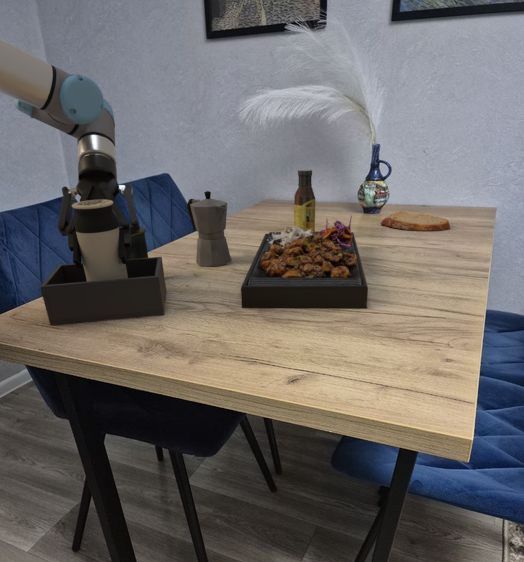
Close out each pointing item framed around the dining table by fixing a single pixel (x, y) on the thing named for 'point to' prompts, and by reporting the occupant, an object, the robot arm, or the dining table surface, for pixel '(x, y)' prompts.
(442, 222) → the bread slice
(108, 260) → the travel mug
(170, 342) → the dining table surface
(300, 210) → the sauce bottle
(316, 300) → the food platter
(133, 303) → the bin
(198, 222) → the coffeepot
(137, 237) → the mug
